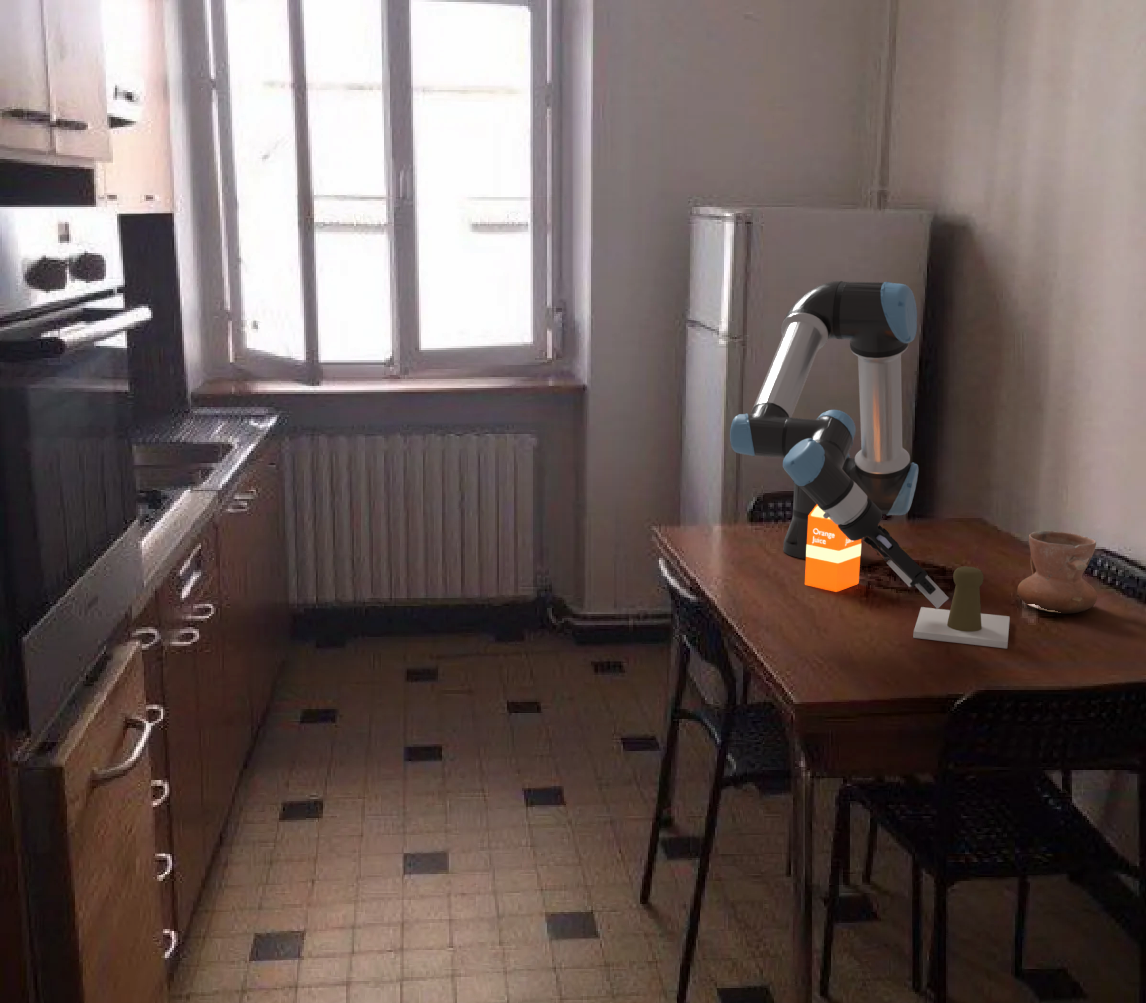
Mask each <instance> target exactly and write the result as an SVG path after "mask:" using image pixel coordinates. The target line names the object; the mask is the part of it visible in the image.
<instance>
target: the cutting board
mask: <svg viewBox="0 0 1146 1003" xmlns="http://www.w3.org/2000/svg"><path fill="white" fill-rule="evenodd" d="M949 614H950V609H943V608H938V609H937V608H936V607H935V608H932V607H924V606H921V607H920V610H919V613H918V617H917V619H916V622H915V627H914V629H913V634H912V635H913V637H912V638H913V639H922V640H930V641H938V642H948V643H957V644H964V645H971V646H974V645H975V646H982V647H991V648H1000V649H1008V645H1009V644H1008V643H1009V631H1010V630H1009V629H1010V617H1011V616H1007V615H1000V614H988V613H981V625H982V629H981V630H979V631H973V632H967V631H959V630H955V629H952V628H950V627H948V626H947V623H948V618H949Z"/></svg>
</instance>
